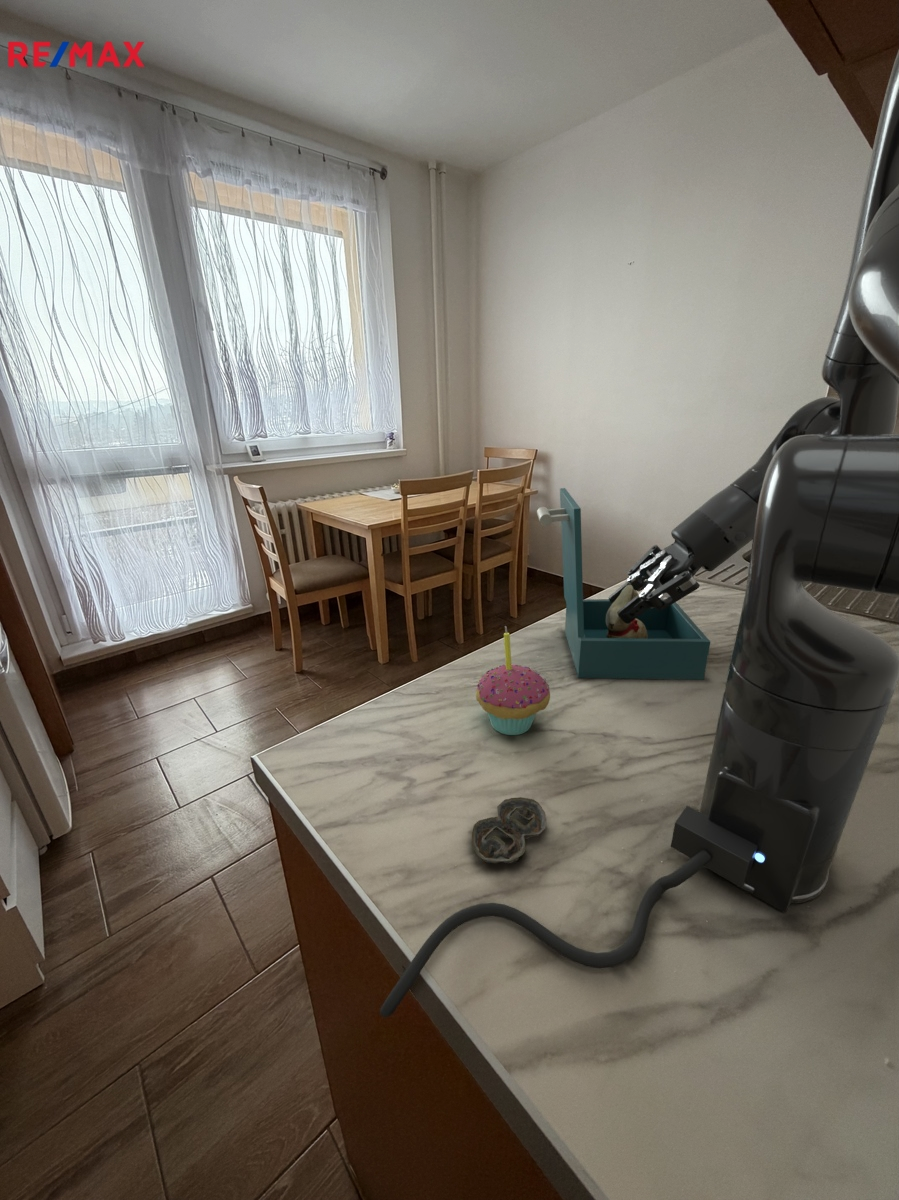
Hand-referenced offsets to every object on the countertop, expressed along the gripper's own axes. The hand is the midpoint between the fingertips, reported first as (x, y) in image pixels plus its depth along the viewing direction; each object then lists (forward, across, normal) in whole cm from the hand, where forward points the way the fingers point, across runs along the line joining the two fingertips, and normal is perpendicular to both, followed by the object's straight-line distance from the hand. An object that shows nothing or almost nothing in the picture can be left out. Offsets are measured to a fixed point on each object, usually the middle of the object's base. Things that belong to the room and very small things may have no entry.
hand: (617, 610), depth 70 cm
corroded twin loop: (+17, +34, -6) cm, 38 cm away
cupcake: (+16, +17, -6) cm, 24 cm away
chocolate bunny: (+3, 0, +6) cm, 7 cm away
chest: (+3, 0, +7) cm, 8 cm away
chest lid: (-1, -1, -10) cm, 10 cm away
